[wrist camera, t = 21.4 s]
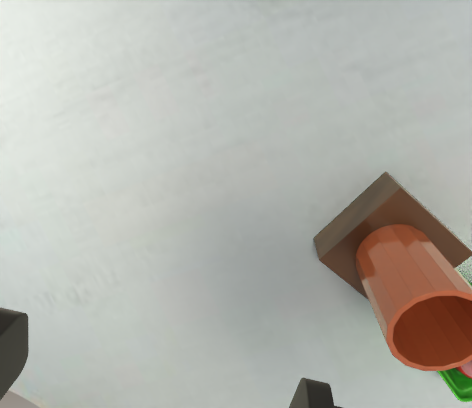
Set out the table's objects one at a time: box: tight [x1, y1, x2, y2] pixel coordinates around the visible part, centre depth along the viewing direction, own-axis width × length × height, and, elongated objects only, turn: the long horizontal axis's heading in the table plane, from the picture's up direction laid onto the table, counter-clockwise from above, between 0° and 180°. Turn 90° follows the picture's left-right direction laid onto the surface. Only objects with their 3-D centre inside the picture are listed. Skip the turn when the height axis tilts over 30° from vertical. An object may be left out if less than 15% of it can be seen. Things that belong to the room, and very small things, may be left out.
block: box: [314, 172, 472, 300], centre depth 33 cm, size 9×9×4 cm
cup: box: [355, 224, 472, 371], centre depth 27 cm, size 6×6×9 cm
